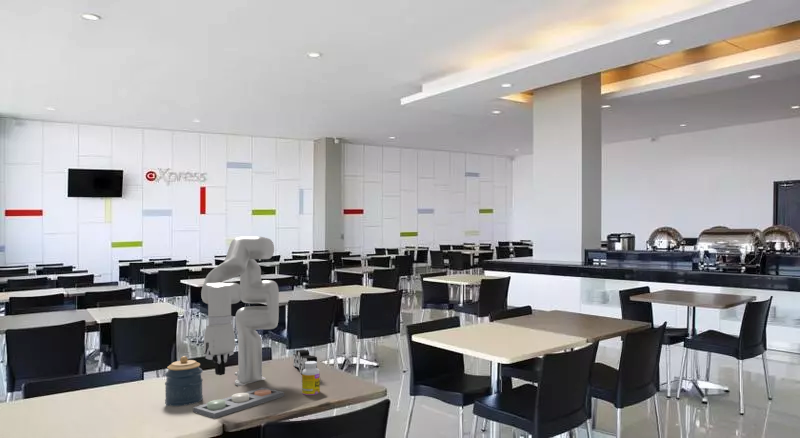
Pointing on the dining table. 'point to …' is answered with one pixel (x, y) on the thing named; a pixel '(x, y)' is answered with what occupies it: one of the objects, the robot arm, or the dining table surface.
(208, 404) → the button sage
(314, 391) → the supplement bottle
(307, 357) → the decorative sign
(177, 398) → the canister
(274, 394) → the button panel
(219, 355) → the robot arm
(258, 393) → the button terracotta
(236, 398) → the button cream
